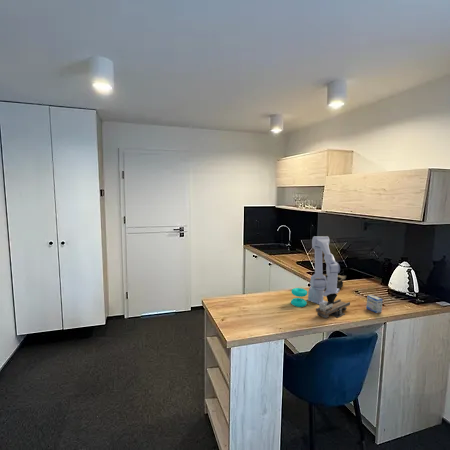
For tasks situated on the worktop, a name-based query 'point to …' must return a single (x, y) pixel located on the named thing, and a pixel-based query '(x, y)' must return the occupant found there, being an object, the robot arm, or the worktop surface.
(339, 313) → the pivot stand
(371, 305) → the medicine box
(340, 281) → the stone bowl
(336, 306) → the beam
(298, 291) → the donuts
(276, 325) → the worktop surface
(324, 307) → the block
